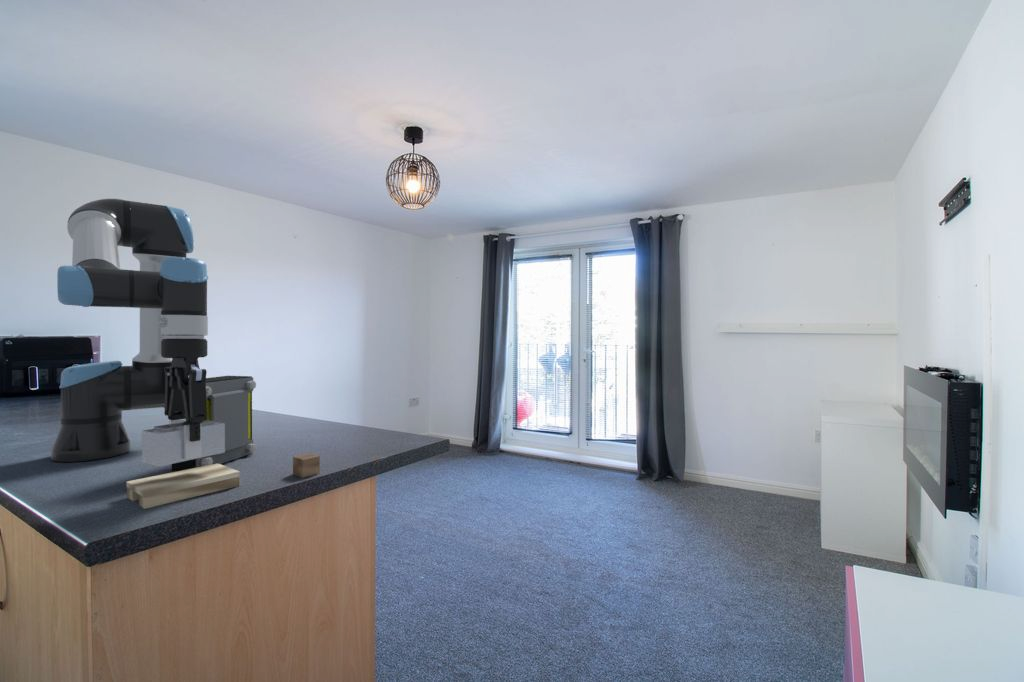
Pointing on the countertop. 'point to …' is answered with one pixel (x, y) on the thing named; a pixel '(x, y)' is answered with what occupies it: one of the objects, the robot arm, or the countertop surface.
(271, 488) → the countertop surface
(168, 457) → the block
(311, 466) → the walnut block
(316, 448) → the countertop surface
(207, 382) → the electrical component
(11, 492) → the countertop surface
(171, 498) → the stand
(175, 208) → the robot arm
